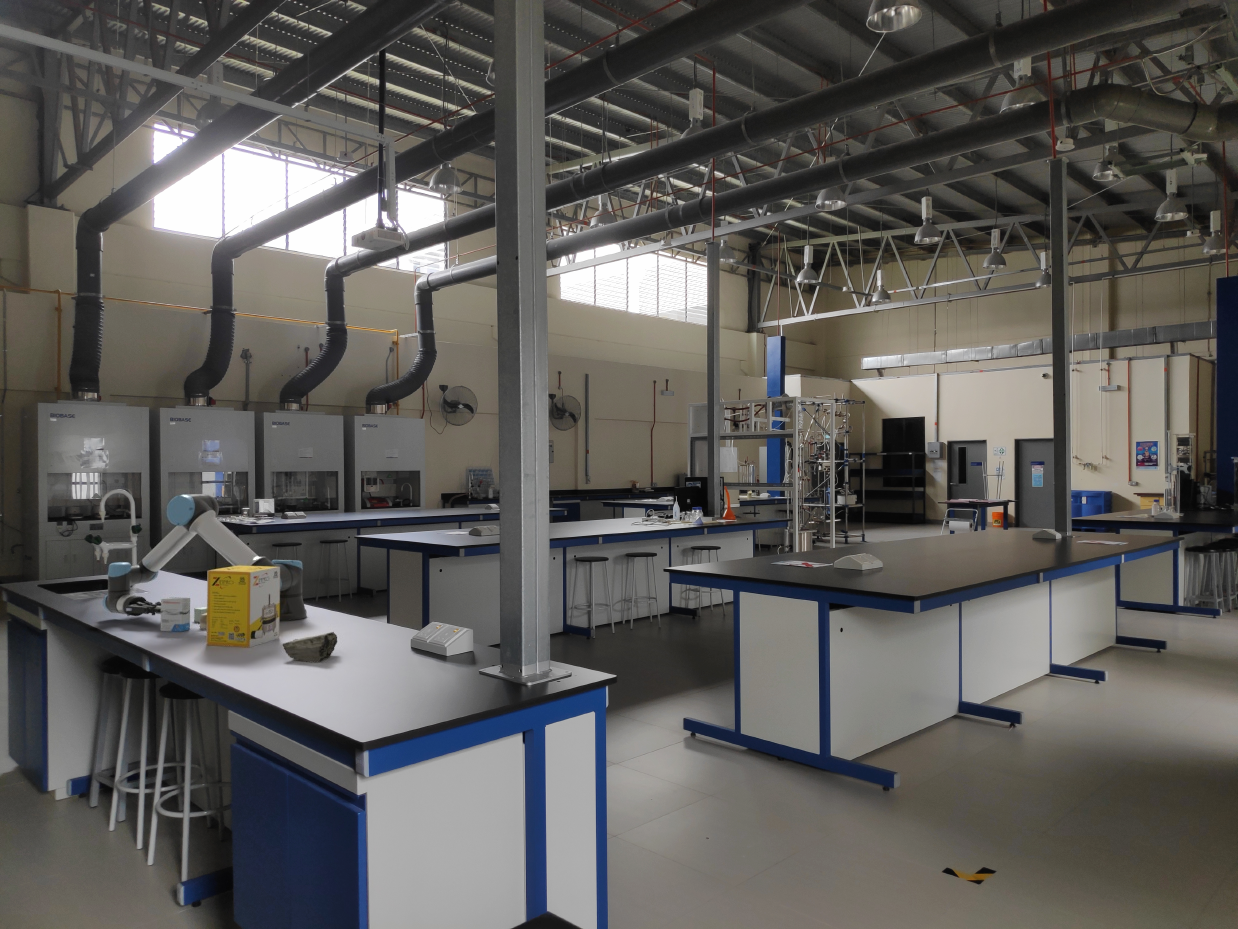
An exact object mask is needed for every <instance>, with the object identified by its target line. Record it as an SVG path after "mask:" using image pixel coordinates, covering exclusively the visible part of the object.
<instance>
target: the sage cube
mask: <svg viewBox="0 0 1238 929" xmlns="http://www.w3.org/2000/svg"><path fill="white" fill-rule="evenodd" d="M193 611H194V612H193V616H194V617H193V621H194V622H197V623H200V615H202V614H205V613H207V606H202V607H195V608H194V610H193Z"/></svg>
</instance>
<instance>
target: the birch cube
mask: <svg viewBox="0 0 1238 929" xmlns="http://www.w3.org/2000/svg"><path fill="white" fill-rule="evenodd" d="M199 629H206V630H207V613H205V614H202V615H200V622H199Z"/></svg>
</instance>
